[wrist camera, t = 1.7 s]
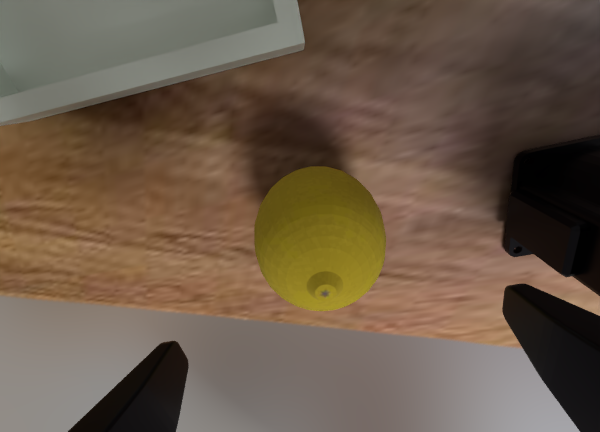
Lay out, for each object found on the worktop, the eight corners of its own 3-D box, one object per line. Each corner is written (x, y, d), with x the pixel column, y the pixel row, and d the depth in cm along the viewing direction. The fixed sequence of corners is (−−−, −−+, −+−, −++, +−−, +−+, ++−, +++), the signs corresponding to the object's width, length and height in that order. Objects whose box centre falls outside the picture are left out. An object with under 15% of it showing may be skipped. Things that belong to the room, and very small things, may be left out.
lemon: (332, 128, 14) (366, 178, 7) (378, 211, 16) (441, 315, 9) (245, 182, 16) (199, 272, 8) (298, 254, 18) (298, 374, 10)
